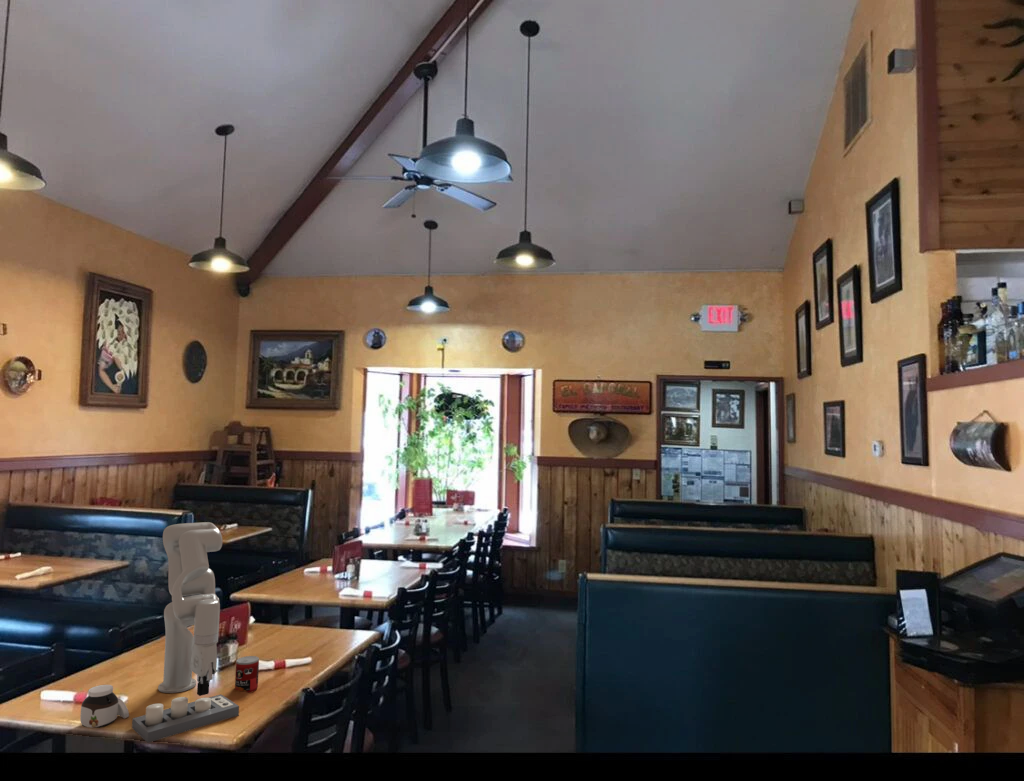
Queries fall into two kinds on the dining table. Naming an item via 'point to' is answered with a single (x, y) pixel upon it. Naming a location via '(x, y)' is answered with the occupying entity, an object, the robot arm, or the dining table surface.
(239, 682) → the canned food
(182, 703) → the button
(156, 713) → the button
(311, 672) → the dining table surface
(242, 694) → the dining table surface
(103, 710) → the spread jar
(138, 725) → the board
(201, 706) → the button
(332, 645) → the dining table surface
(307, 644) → the dining table surface
